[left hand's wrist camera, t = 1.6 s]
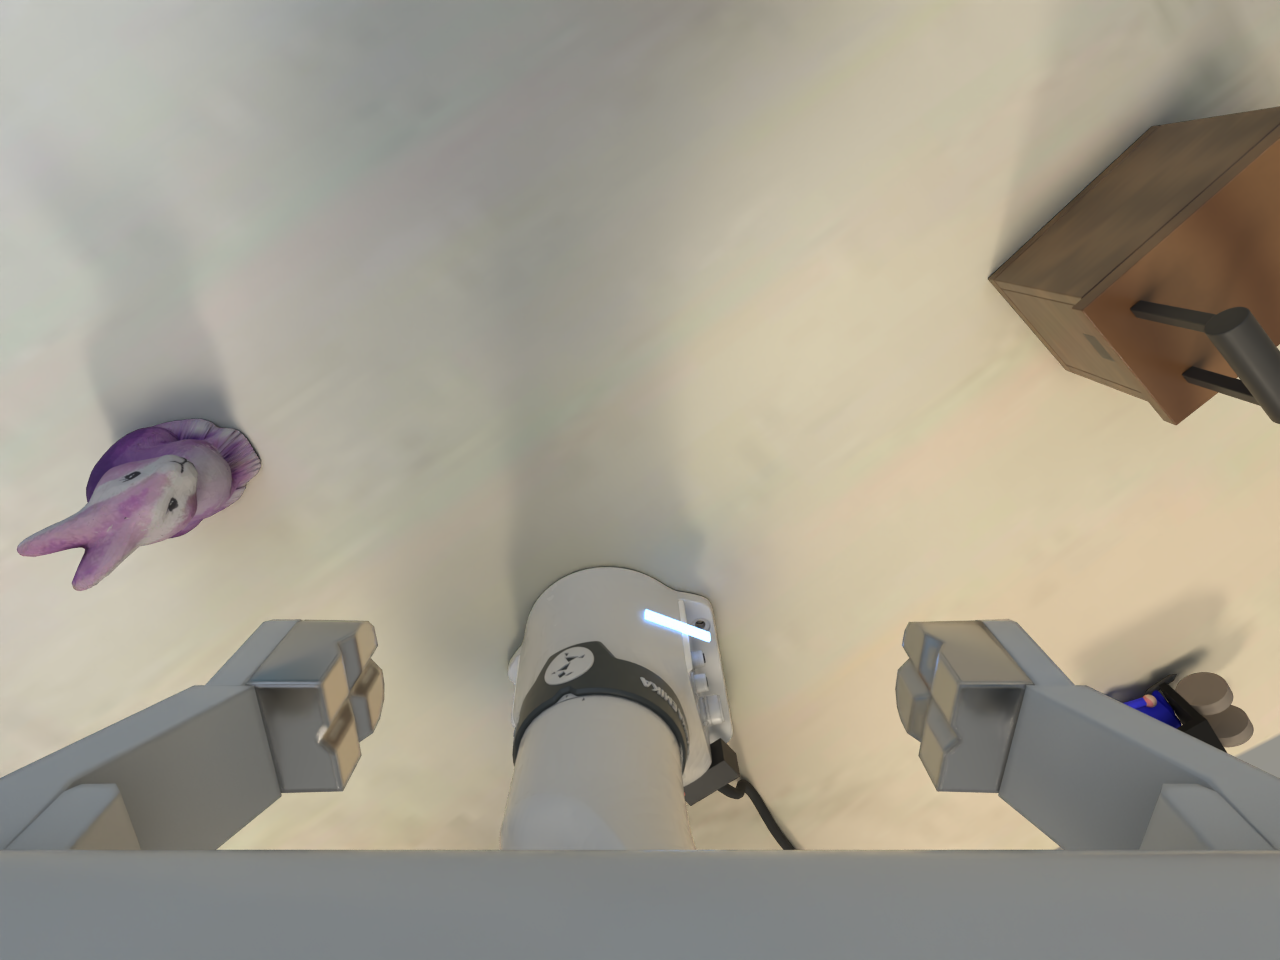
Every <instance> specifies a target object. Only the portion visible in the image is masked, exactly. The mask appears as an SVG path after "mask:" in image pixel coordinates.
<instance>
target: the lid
mask: <svg viewBox="0 0 1280 960" xmlns="http://www.w3.org/2000/svg"><path fill="white" fill-rule="evenodd" d="M1072 310H1073V311H1074V312H1075V313H1076V315H1077V316H1078V317H1079V318H1080V319H1081V321H1082V322H1083V323H1084V324H1085V326H1086V327H1087V328H1088V329H1089V330H1090V332H1091V333H1092V334H1093V335H1094V336H1095V338H1096V339H1097V340H1098V341H1099V342H1100V344H1101V345H1102V346H1103V347H1104V349H1105V350H1106V351H1107V352H1108V353H1109V355H1110V356H1111V357H1112V358H1113V359H1114V361H1115V362H1116V363H1117V364H1118V366H1119V367H1120V368H1121V369H1122V370H1123V372H1124V373H1125V374H1126V375H1127V376H1128V378H1129V379H1130V380H1131V381H1132V382H1133V384H1134V385H1135V386H1136V387H1137V389H1138V390H1139V391H1140V392H1141V393H1142V395H1143V396H1144V397H1145V398H1146V399H1147V401H1148V402H1149V403H1150V404H1151V405H1152V407H1153V408H1154V409H1155V410H1156V412H1157V413H1158V414H1159V415H1160V416H1161V418H1162V419H1163V420H1164V421H1167V422H1169V423H1171V424H1174V425H1177V424H1179V423H1180V422H1181V421H1182V420H1184V419H1185V418H1186V417H1188V416H1189V415H1190V414H1191V413H1193V412H1194V411H1195V410H1196V409H1198V408H1199V407H1200V406H1202V405H1203V404H1204V403H1205V402H1207V401H1208V400H1209V399H1211V398H1212V397H1213V396H1214V395H1216V394H1217V393H1218V392H1219V393H1222V394H1225V395H1229V396H1232V397H1235V398H1238V399H1241V400H1244V401H1247V402H1250V403H1254V404H1257V405H1260V406H1261V407H1262V408H1263V410H1264V411H1265V412H1266V414H1267V415H1268V416H1269V418H1270V419H1271V420H1272V421H1273V422H1275V423H1278V424H1280V351H1279V350H1278V348H1277V346H1278V345H1279V344H1280V125H1279V126H1278V127H1277V128H1276V129H1275V130H1273V131H1272V132H1271V133H1270V134H1269V135H1268V136H1267V137H1265V138H1264V139H1263V140H1262V141H1261V142H1260V143H1259V144H1257V145H1256V146H1255V147H1254V148H1253V149H1252V150H1251V151H1249V152H1248V153H1247V154H1246V155H1245V156H1244V157H1243V158H1242V159H1240V160H1239V161H1238V162H1237V163H1236V164H1235V165H1234V166H1232V167H1231V168H1230V169H1229V170H1228V171H1227V172H1226V173H1224V174H1223V175H1222V176H1221V177H1220V178H1219V179H1218V180H1216V181H1215V182H1214V183H1213V184H1212V185H1211V186H1210V187H1209V188H1207V189H1206V190H1205V191H1204V192H1203V193H1202V194H1201V195H1199V196H1198V197H1197V198H1196V199H1195V200H1194V201H1193V202H1191V203H1190V204H1189V205H1188V206H1187V207H1186V208H1185V209H1183V210H1182V211H1181V212H1180V213H1179V214H1178V215H1177V216H1176V217H1174V218H1173V219H1172V220H1171V221H1170V222H1169V223H1168V224H1166V225H1165V226H1164V227H1163V228H1162V229H1161V230H1160V231H1158V232H1157V233H1156V234H1155V235H1154V236H1153V237H1152V238H1150V239H1149V240H1148V241H1147V242H1146V243H1145V244H1144V245H1143V246H1141V247H1140V248H1139V249H1138V250H1137V251H1136V252H1135V253H1133V254H1132V255H1131V256H1130V257H1129V258H1128V259H1127V260H1125V261H1124V262H1123V263H1122V264H1121V265H1120V266H1119V267H1117V268H1116V269H1115V270H1114V271H1113V272H1112V273H1111V274H1110V275H1108V276H1107V277H1106V278H1105V279H1104V280H1103V281H1102V282H1100V283H1099V284H1098V285H1097V286H1096V287H1095V288H1094V289H1092V290H1091V291H1090V292H1089V293H1088V294H1087V295H1086V296H1084V297H1083V298H1082V299H1081V300H1080V301H1079V302H1078V303H1077V304H1075V305H1074V306H1073V307H1072ZM1237 377H1239V378H1240V380H1239V379H1236V378H1237Z"/></svg>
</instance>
